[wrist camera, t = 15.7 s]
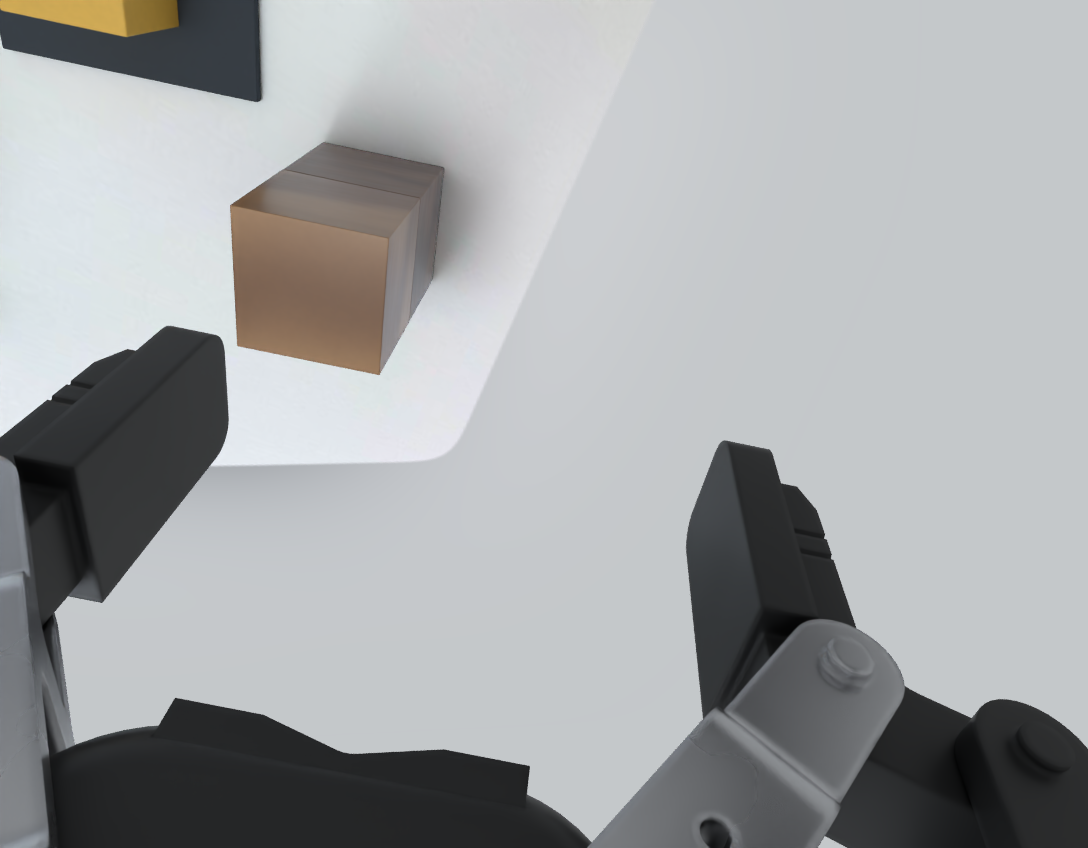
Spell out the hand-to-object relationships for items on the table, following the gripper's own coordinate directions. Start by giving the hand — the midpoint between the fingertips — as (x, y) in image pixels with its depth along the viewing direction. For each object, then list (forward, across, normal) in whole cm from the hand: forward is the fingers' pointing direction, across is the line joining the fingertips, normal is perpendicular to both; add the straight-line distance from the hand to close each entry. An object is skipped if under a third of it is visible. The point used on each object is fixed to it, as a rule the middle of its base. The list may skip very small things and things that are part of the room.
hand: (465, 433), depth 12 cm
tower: (+33, +10, +9) cm, 36 cm away
